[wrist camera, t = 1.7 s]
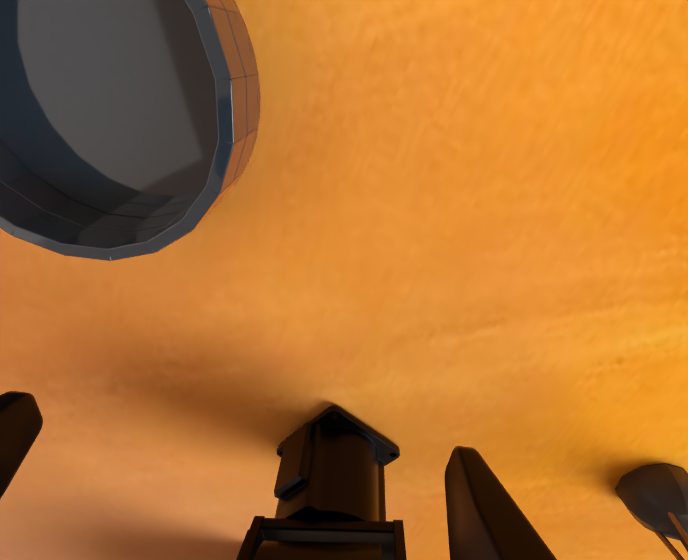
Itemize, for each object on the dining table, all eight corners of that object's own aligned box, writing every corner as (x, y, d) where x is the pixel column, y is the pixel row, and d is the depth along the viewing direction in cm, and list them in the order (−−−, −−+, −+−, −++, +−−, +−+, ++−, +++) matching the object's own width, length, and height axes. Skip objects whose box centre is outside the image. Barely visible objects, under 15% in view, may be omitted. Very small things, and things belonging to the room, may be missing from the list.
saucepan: (322, 69, 16) (310, 74, 13) (168, 270, 22) (131, 312, 18) (6, -248, 12) (-133, -361, 9) (-87, 93, 18) (-197, 104, 14)
